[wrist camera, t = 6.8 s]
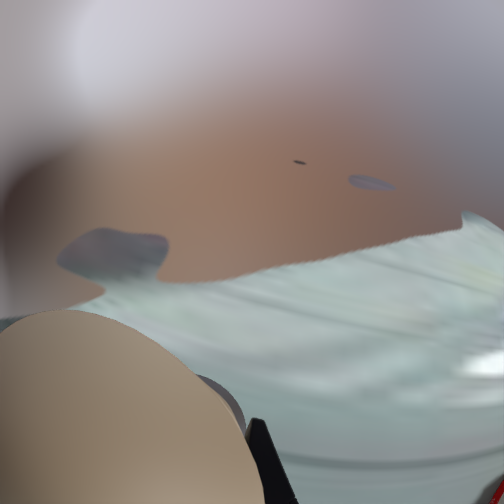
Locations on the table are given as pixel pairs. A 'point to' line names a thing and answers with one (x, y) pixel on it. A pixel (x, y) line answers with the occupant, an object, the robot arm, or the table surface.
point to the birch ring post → (113, 420)
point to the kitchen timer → (498, 495)
